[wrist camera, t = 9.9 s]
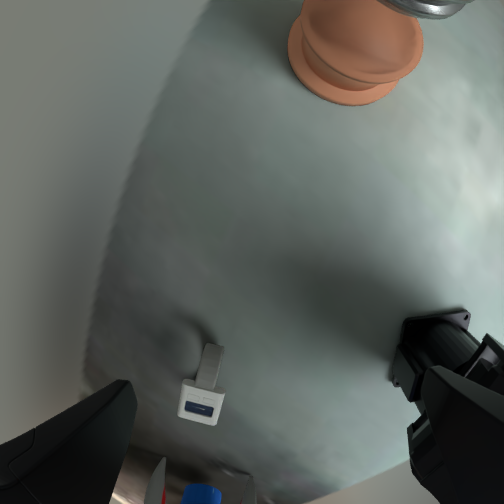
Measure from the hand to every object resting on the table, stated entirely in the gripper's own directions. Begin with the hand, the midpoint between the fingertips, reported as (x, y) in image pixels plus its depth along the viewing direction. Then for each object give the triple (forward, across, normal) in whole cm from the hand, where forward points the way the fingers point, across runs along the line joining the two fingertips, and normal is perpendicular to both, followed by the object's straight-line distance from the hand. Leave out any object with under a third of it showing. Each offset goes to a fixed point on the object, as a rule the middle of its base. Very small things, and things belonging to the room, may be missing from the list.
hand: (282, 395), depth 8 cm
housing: (+13, -6, -14) cm, 20 cm away
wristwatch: (+13, +5, +8) cm, 16 cm away
